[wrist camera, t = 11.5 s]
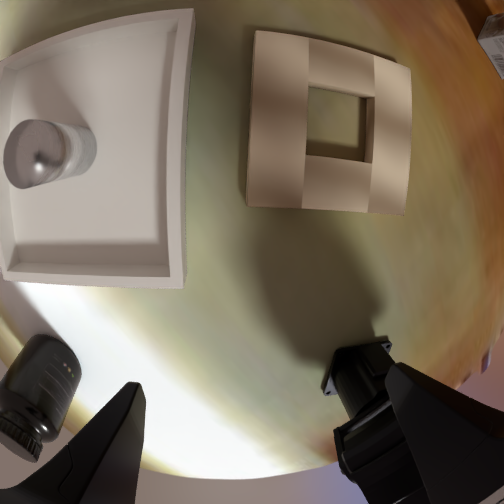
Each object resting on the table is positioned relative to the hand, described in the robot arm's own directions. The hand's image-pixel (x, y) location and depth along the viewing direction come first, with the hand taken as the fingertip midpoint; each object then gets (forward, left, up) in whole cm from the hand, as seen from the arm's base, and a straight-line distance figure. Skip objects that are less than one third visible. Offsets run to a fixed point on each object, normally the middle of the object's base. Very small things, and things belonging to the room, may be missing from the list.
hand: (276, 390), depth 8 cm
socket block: (+10, -6, -12) cm, 17 cm away
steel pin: (+8, +12, -12) cm, 18 cm away
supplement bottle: (-11, +19, -12) cm, 25 cm away
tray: (+8, +12, -12) cm, 19 cm away
